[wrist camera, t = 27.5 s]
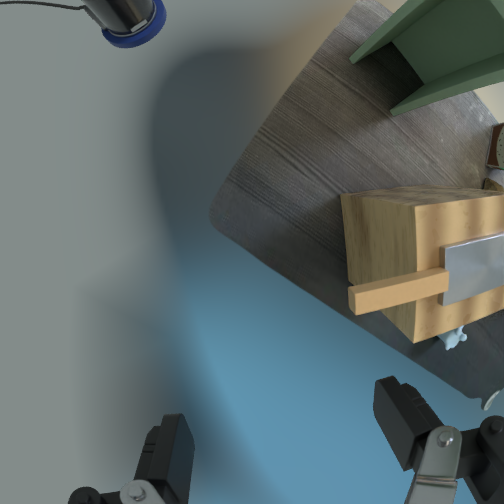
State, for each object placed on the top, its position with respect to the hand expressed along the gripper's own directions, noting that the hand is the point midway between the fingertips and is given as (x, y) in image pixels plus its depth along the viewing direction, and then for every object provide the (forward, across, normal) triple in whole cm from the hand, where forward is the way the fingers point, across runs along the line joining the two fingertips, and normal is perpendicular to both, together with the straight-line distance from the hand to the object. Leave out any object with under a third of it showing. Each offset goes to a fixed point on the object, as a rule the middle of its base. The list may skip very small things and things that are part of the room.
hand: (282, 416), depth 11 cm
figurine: (+36, -36, +23) cm, 56 cm away
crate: (+36, -23, +2) cm, 43 cm away
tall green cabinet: (+36, -28, -25) cm, 52 cm away
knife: (+14, -19, +2) cm, 24 cm away
